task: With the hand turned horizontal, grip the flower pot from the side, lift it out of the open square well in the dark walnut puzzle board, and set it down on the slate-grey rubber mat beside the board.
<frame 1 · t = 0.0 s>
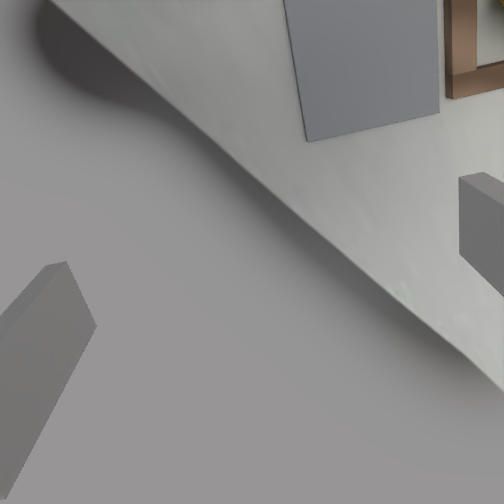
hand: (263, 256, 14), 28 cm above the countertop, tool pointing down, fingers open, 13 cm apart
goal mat: (363, 57, 37), on the countertop
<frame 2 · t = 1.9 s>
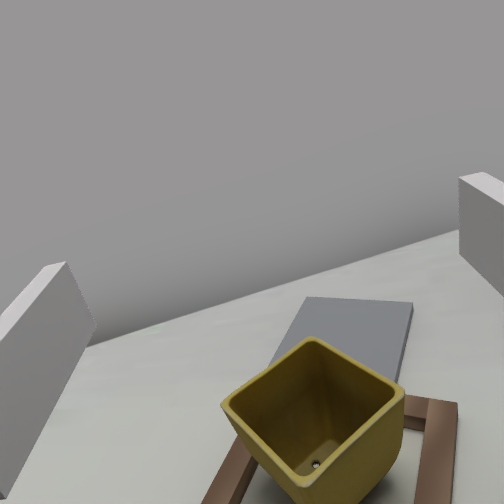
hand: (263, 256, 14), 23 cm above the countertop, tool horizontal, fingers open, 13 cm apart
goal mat: (343, 341, 44), on the countertop
flower pot: (331, 484, 31), resting in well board
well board: (330, 482, 31), on the countertop
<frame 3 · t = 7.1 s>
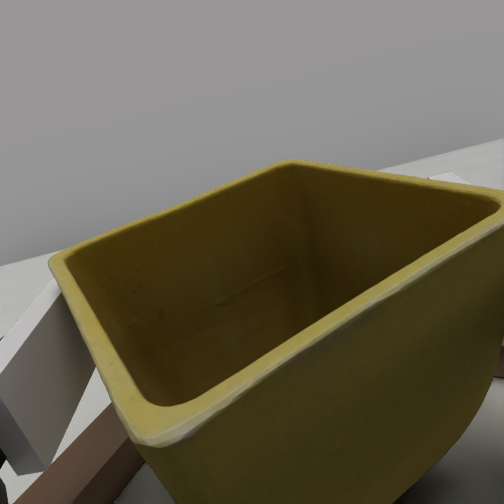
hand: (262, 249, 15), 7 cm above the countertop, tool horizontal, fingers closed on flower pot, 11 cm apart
flower pot: (310, 476, 14), resting in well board, touching gripper
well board: (308, 472, 14), on the countertop
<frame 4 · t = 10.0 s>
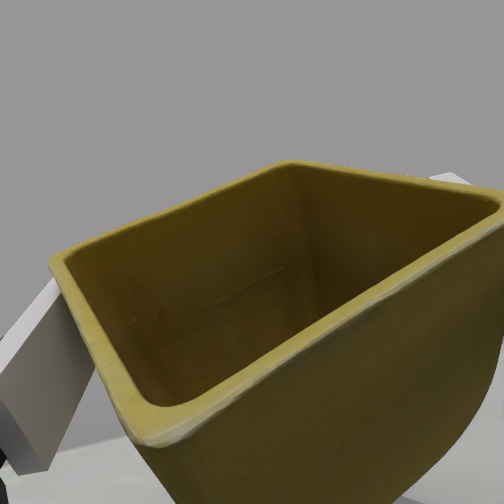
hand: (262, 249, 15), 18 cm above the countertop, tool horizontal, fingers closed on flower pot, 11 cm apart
flower pot: (310, 476, 14), point 11 cm above the countertop, touching gripper
when the fingers open (9 cm above the countertop, at t = 13.2 s): flower pot drops 1 cm, resting on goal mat.
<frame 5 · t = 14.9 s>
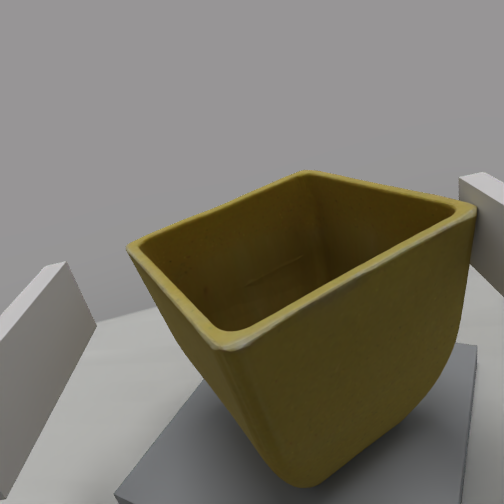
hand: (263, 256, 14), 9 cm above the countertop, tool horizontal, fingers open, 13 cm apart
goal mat: (312, 430, 19), on the countertop
flower pot: (320, 420, 18), point 1 cm above the countertop, touching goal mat, gripper
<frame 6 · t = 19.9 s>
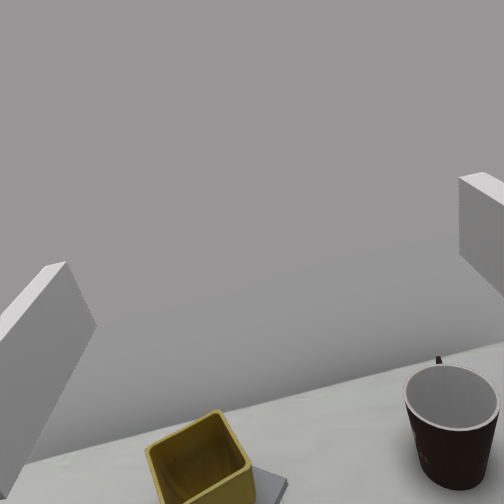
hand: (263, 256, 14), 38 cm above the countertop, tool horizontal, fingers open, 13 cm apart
coffee mug: (455, 452, 47), on the countertop
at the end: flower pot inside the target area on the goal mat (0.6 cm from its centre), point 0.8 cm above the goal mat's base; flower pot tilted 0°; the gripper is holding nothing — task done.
